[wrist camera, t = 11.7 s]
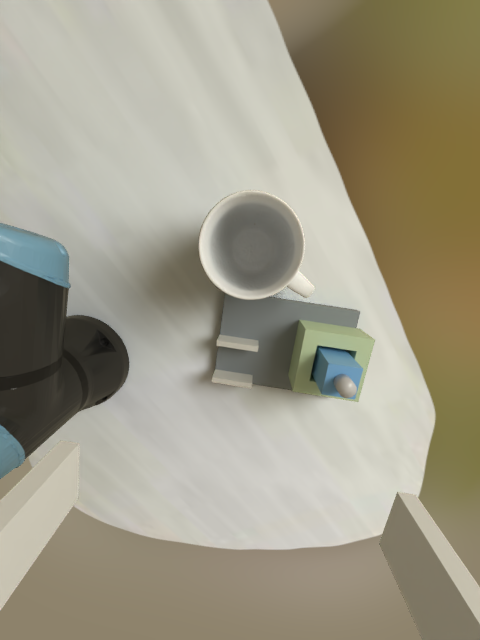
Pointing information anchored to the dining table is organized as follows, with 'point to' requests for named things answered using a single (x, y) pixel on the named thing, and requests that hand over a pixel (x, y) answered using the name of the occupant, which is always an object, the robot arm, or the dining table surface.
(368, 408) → the dining table surface
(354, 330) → the port
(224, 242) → the mug
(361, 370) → the plug
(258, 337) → the panel
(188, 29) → the dining table surface
